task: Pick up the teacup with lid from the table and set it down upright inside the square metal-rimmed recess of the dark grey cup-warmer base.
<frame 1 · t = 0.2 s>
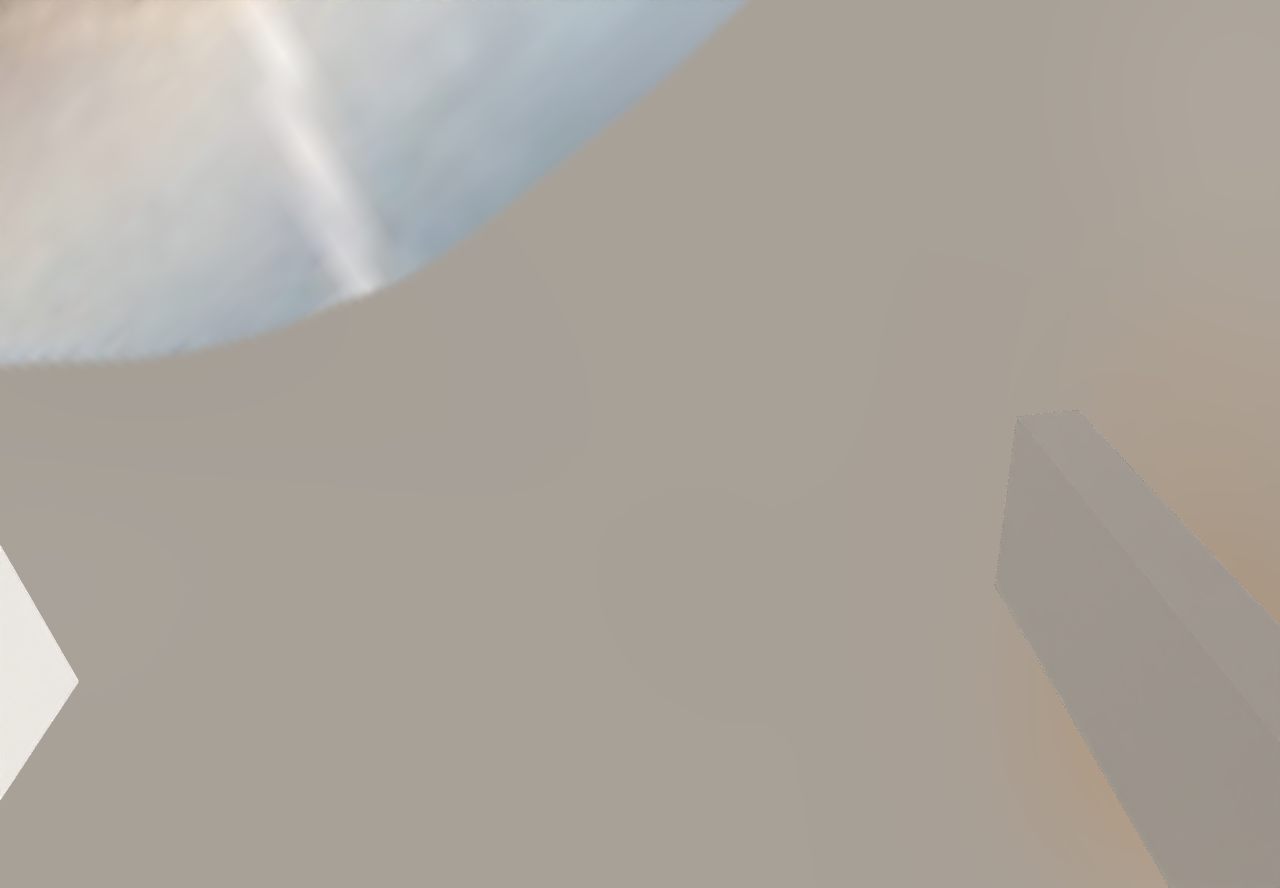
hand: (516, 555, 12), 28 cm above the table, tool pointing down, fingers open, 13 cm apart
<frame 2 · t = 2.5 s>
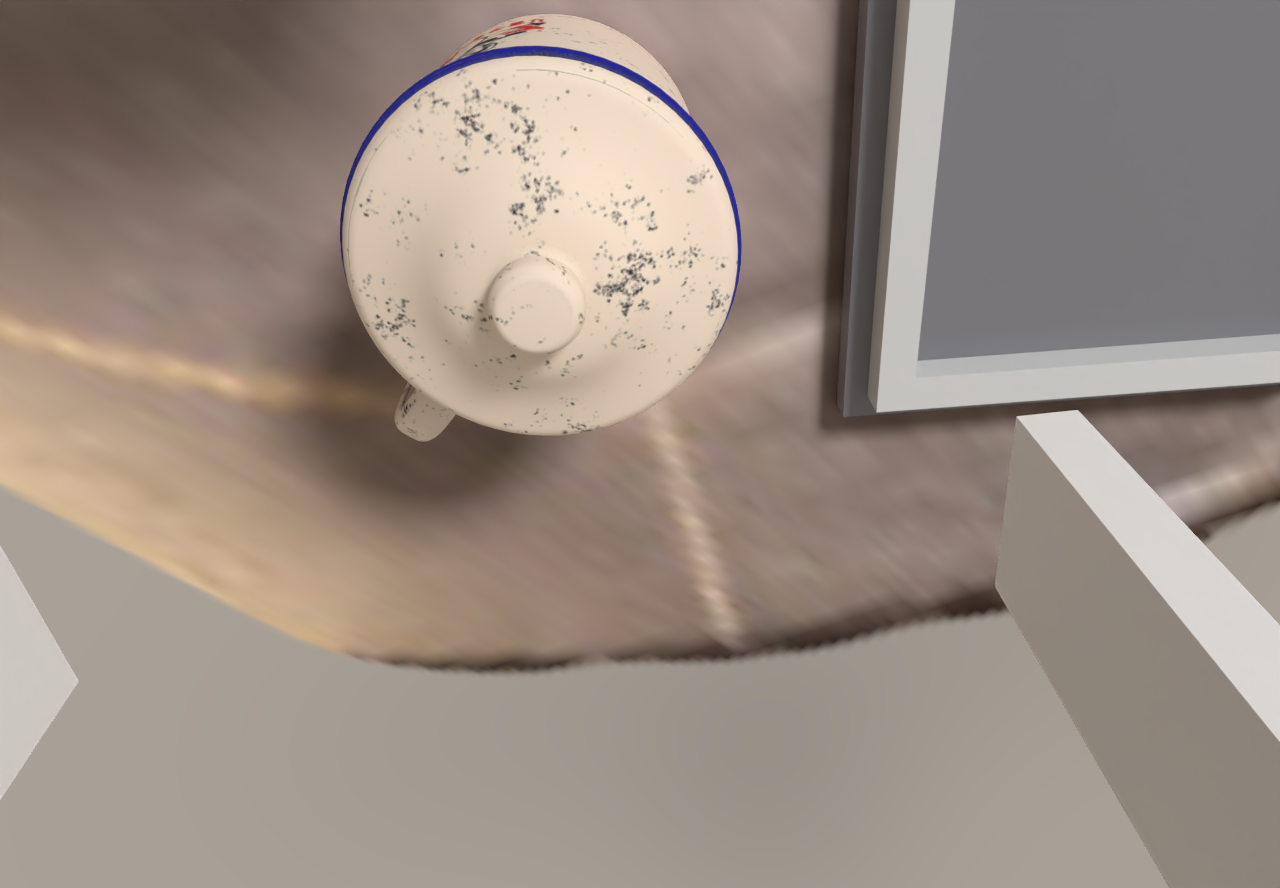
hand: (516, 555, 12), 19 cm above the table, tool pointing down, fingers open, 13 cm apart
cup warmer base: (1156, 57, 27), on the table
teacup with lid: (532, 202, 29), on the table
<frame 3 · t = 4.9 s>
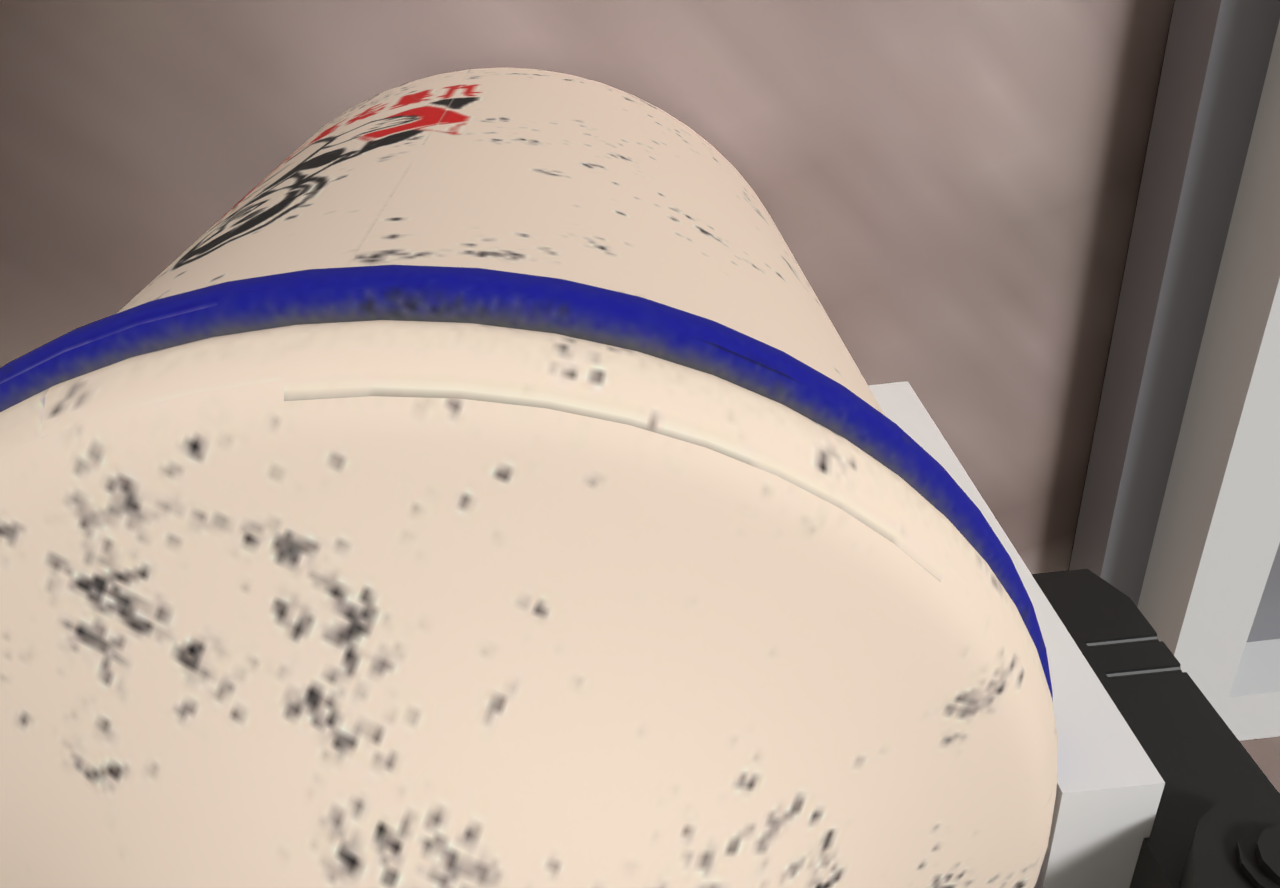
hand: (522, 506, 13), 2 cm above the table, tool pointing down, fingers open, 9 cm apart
teacup with lid: (479, 417, 15), on the table, touching gripper
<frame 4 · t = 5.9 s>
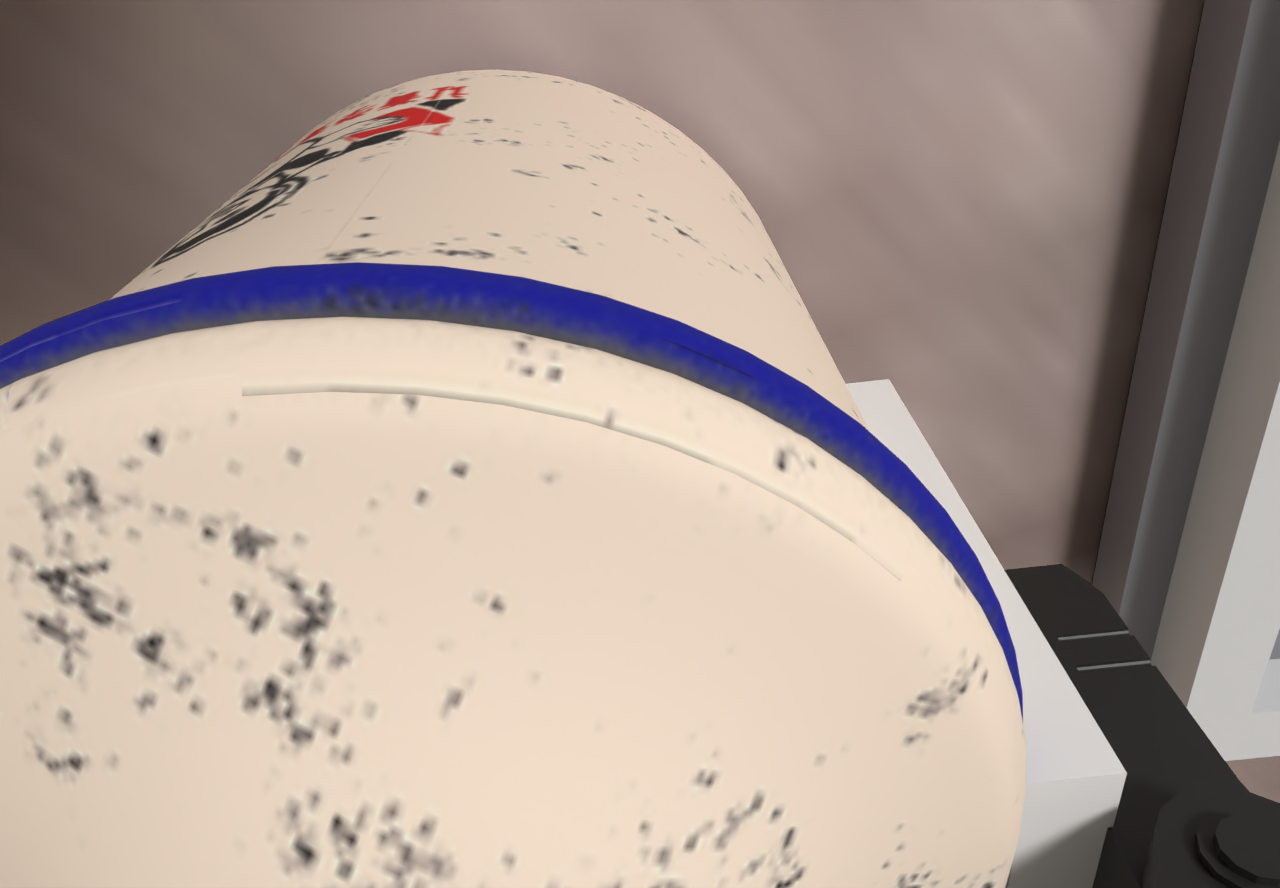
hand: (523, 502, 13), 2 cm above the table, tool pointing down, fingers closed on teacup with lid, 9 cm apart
teacup with lid: (471, 417, 15), on the table, touching gripper
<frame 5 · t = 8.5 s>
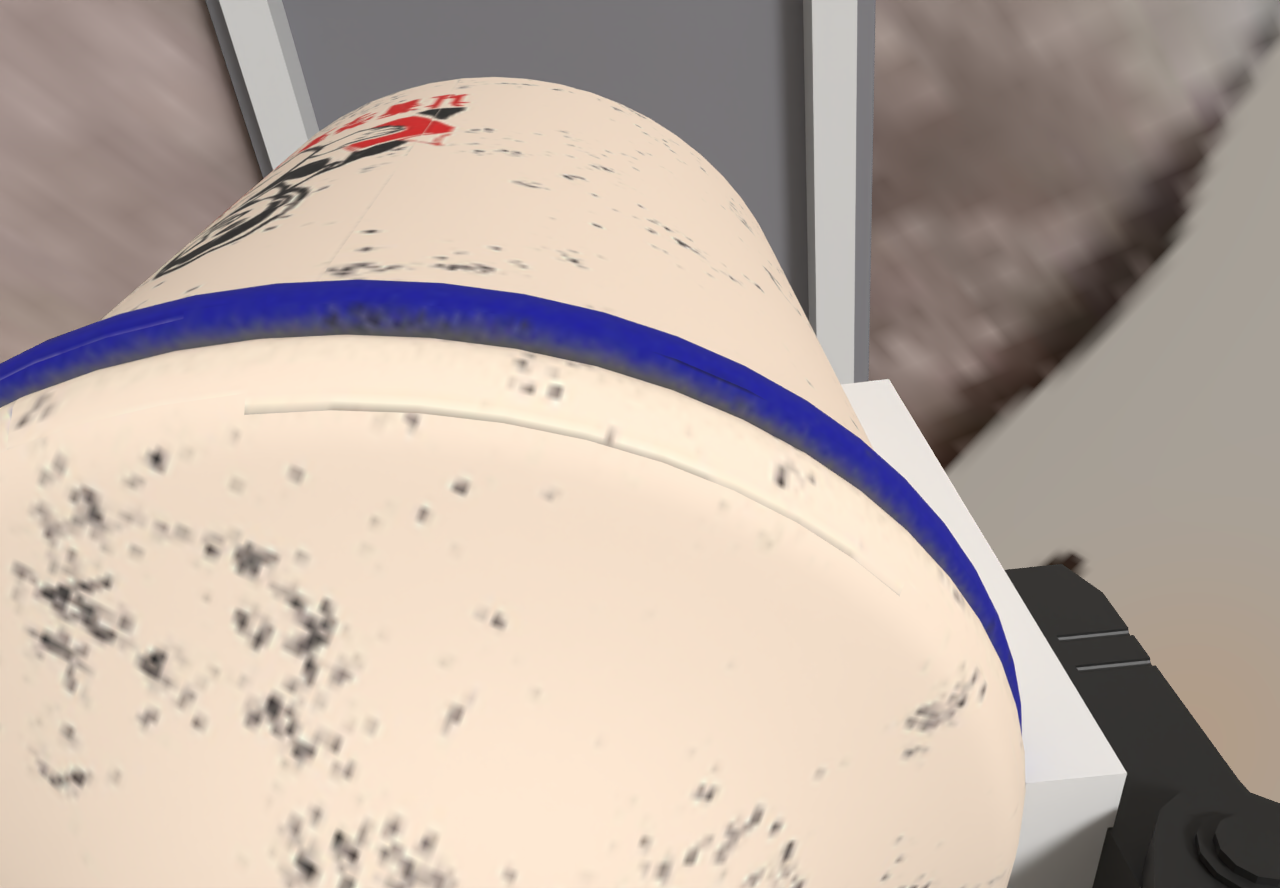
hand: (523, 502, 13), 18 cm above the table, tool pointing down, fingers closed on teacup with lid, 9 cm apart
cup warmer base: (562, 97, 27), on the table
teacup with lid: (471, 423, 15), point 15 cm above the table, touching gripper
when the fingers open (4 cm above the table, at t = 11.1 s): teacup with lid drops 1 cm, resting on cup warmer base.
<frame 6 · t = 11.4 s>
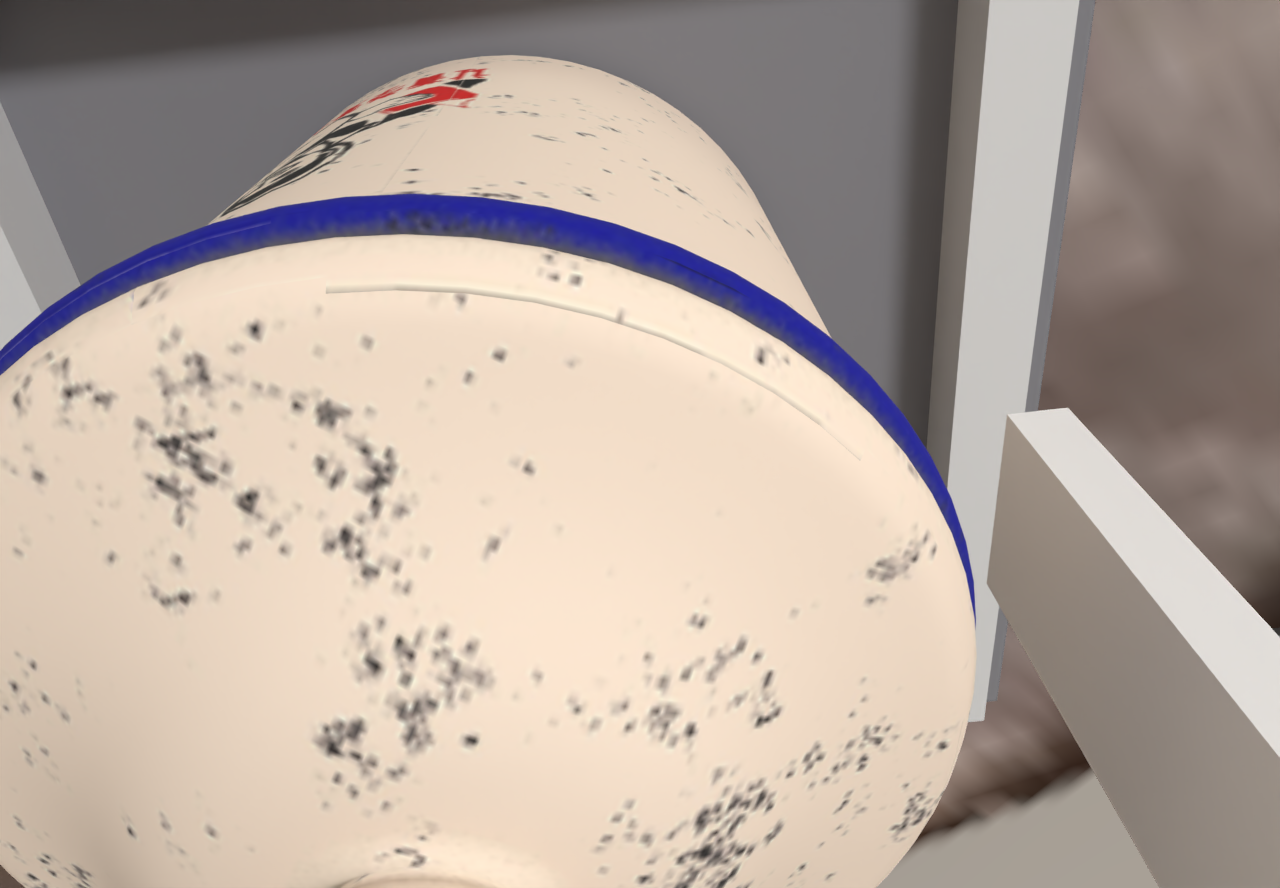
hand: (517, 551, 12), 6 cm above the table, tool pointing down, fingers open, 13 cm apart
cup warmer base: (521, 263, 16), on the table
teacup with lid: (485, 383, 16), point 1 cm above the table, touching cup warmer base
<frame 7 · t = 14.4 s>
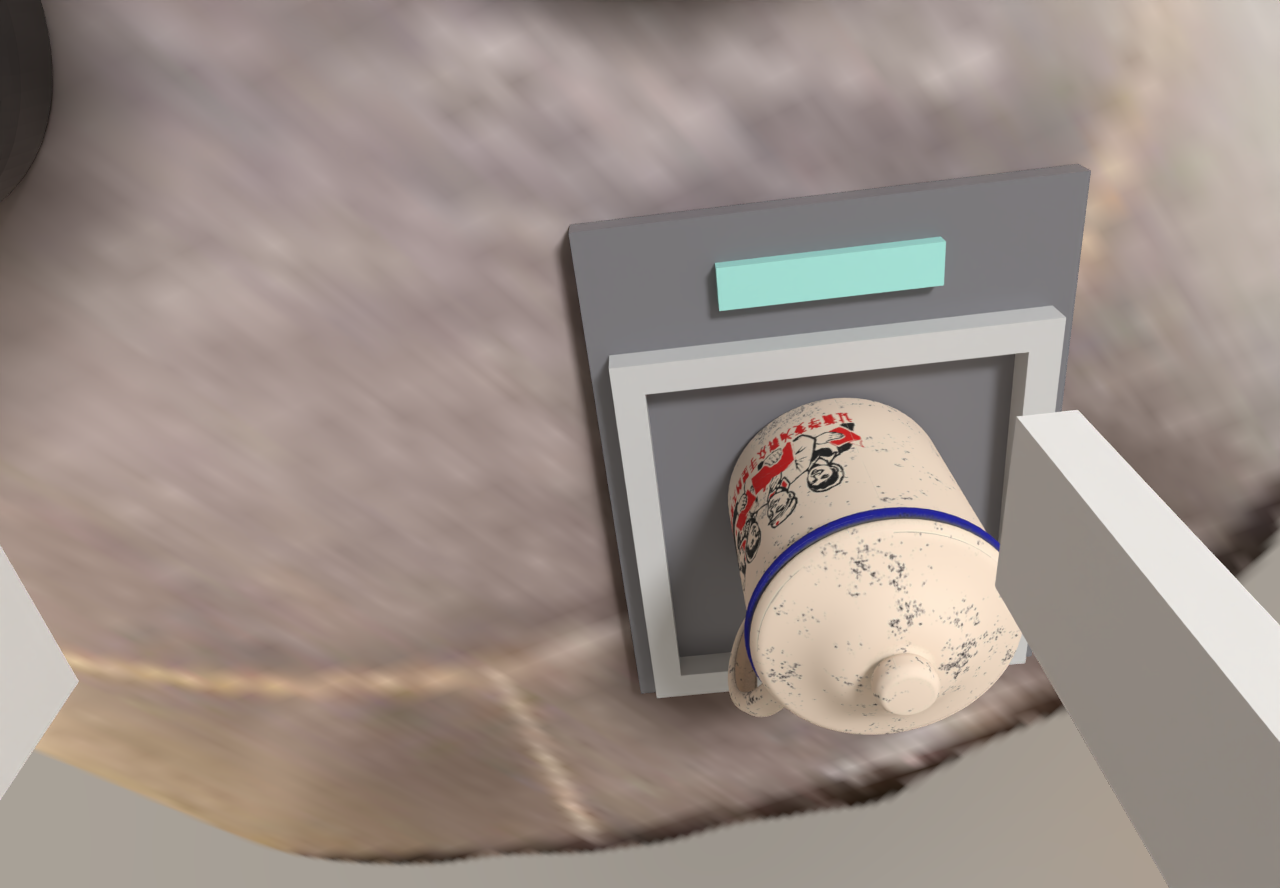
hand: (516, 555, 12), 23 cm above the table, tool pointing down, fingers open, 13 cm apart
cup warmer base: (826, 460, 38), on the table
teacup with lid: (809, 510, 38), point 1 cm above the table, touching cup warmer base
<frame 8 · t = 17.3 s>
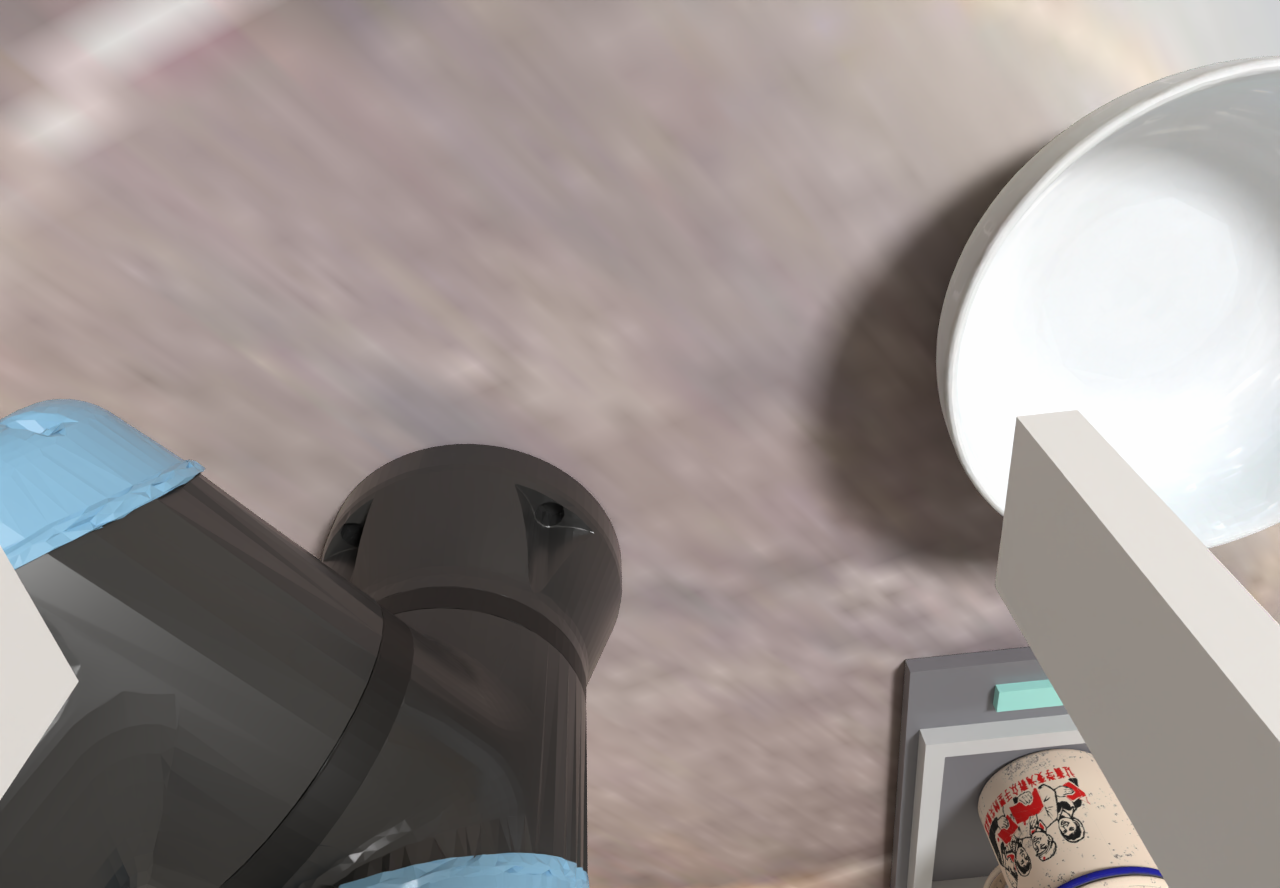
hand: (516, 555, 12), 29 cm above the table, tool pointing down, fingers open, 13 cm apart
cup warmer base: (1038, 771, 58), on the table
teacup with lid: (1025, 802, 59), point 1 cm above the table, touching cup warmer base
serving bowl: (1124, 281, 42), on the table
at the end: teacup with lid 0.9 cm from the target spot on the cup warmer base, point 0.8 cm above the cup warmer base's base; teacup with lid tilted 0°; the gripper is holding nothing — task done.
